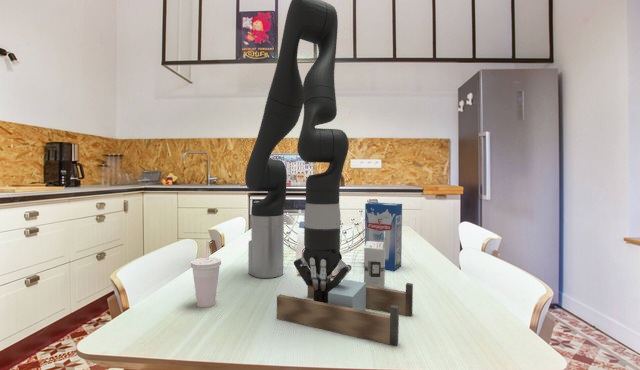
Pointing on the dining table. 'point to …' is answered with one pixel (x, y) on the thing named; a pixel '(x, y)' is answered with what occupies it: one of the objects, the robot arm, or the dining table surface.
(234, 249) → the dining table surface
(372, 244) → the ink box
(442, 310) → the dining table surface
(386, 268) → the milk carton
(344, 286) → the slate block
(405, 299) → the chute
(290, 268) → the dining table surface
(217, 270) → the smoothie
